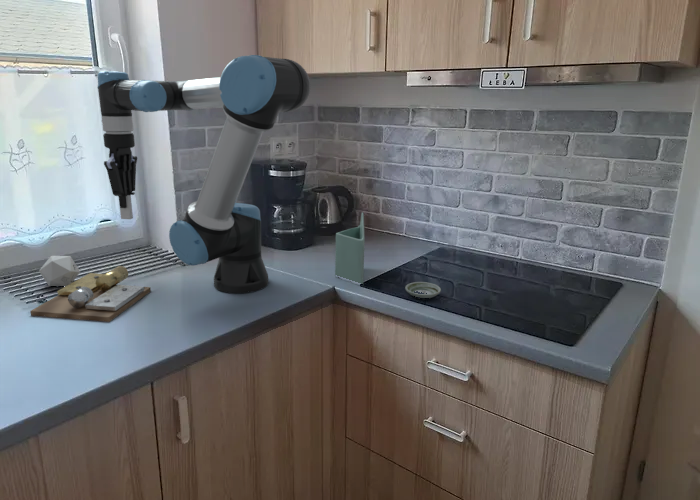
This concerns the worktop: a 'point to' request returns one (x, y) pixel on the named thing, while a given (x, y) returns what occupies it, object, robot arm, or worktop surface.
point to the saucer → (423, 289)
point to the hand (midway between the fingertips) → (127, 218)
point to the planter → (350, 253)
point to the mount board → (82, 308)
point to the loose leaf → (97, 281)
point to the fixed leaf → (104, 297)
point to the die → (59, 271)
